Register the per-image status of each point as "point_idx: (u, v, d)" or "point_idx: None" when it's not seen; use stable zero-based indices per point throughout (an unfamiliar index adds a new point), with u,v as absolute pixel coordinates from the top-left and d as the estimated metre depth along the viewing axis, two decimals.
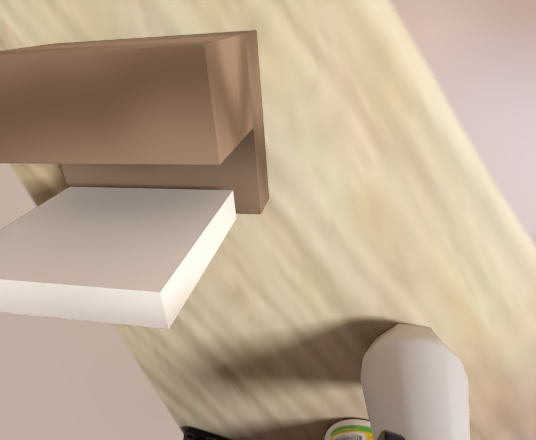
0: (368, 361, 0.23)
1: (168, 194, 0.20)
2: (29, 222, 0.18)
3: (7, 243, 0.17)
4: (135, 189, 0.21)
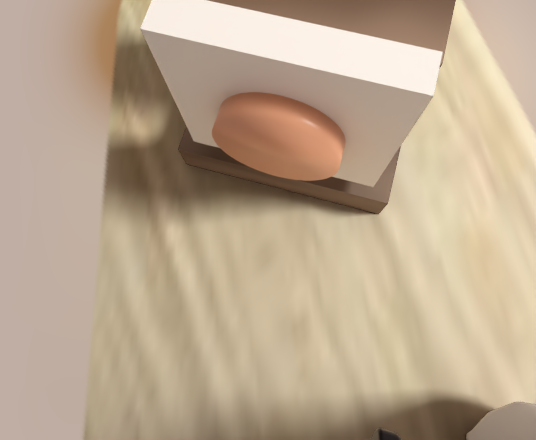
0: (485, 428, 0.17)
1: None
2: None
3: None
4: None
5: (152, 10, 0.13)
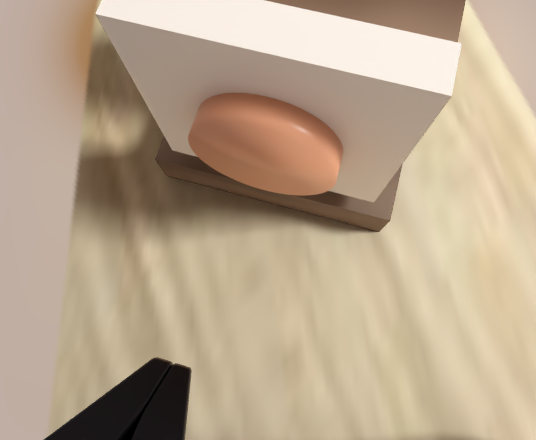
0: None
1: None
2: None
3: None
4: None
5: None
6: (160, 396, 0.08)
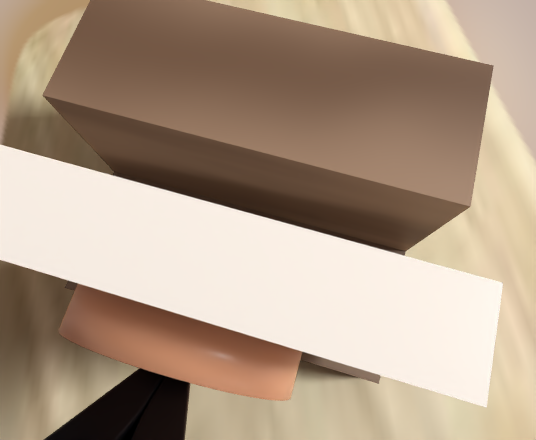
0: None
1: None
2: None
3: None
4: None
5: None
6: (160, 396, 0.08)
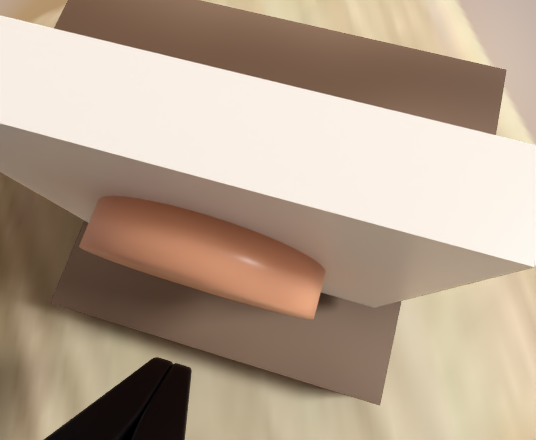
0: None
1: None
2: None
3: None
4: None
5: None
6: (160, 396, 0.08)
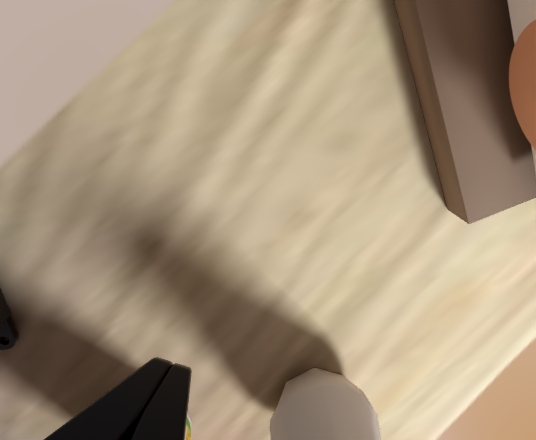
0: (333, 392, 0.21)
1: None
2: None
3: None
4: None
5: None
6: (160, 396, 0.08)
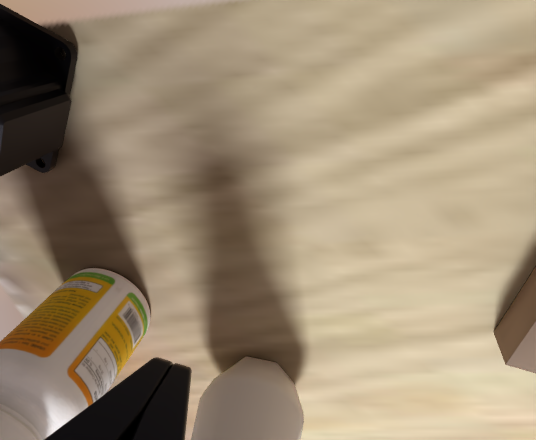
0: (281, 400, 0.21)
1: None
2: None
3: None
4: None
5: None
6: (160, 396, 0.08)
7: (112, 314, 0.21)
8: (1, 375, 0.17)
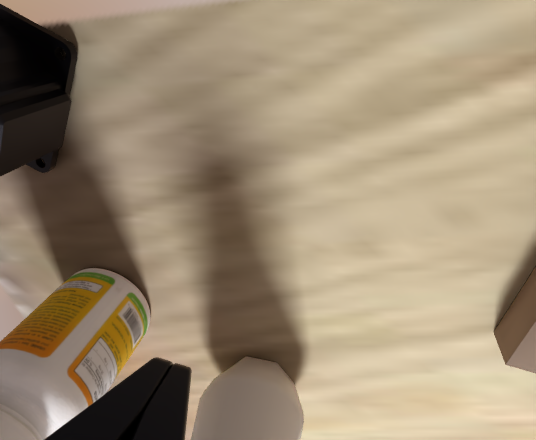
0: (281, 400, 0.21)
1: None
2: None
3: None
4: None
5: None
6: (160, 396, 0.08)
7: (112, 314, 0.21)
8: (0, 375, 0.17)
